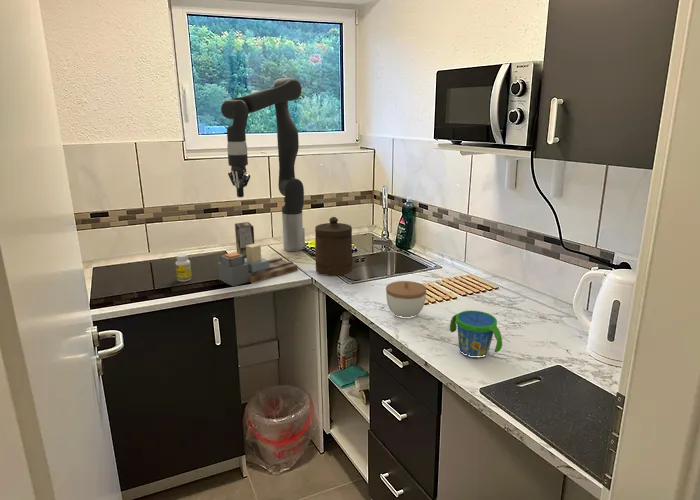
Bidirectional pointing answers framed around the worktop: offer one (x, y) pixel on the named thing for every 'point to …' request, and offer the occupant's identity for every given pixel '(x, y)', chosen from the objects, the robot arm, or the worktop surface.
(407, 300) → the lidded bowl
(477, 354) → the snack cup
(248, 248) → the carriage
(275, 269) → the rail bed
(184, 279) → the supplement bottle
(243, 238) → the coffee box
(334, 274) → the wooden container
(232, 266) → the cabinet
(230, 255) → the button
